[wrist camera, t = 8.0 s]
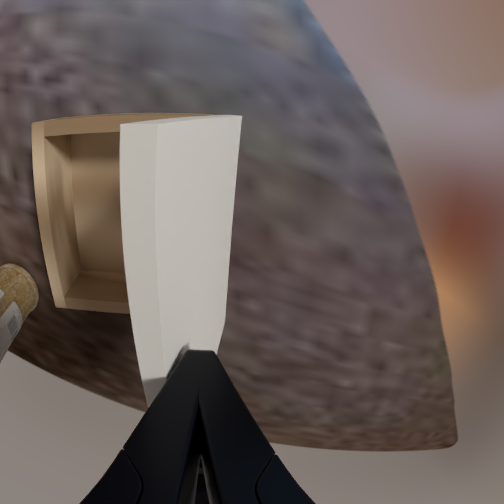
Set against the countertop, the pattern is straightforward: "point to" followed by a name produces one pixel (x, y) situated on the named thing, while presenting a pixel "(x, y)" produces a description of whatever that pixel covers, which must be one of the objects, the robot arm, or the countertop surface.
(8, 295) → the sprinkles bottle
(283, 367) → the countertop surface
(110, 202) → the box
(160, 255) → the lid
